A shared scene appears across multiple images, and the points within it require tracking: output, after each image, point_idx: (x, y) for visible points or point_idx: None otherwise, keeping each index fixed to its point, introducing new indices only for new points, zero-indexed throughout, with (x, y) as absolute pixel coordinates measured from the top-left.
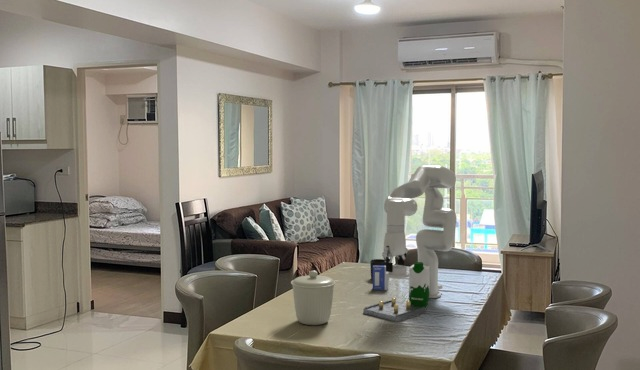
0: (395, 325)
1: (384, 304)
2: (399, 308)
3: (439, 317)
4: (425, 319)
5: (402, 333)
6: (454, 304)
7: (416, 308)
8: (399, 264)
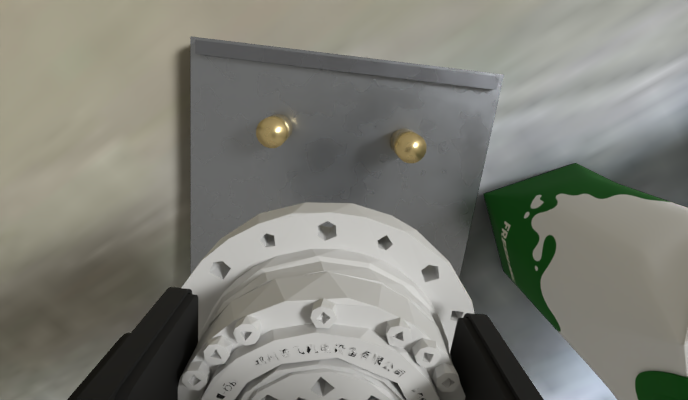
0: (149, 302)
1: (374, 89)
2: None
3: None
4: None
5: (78, 380)
6: None
7: None
8: (476, 396)
